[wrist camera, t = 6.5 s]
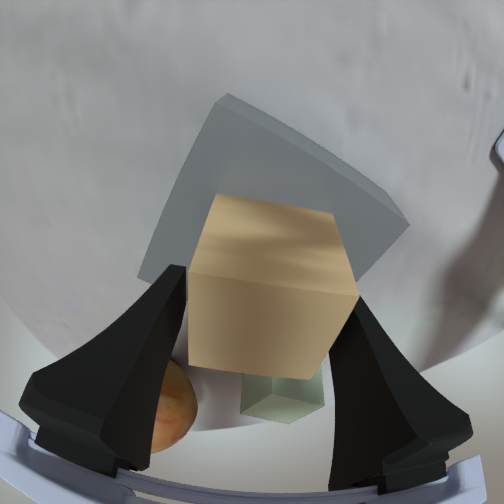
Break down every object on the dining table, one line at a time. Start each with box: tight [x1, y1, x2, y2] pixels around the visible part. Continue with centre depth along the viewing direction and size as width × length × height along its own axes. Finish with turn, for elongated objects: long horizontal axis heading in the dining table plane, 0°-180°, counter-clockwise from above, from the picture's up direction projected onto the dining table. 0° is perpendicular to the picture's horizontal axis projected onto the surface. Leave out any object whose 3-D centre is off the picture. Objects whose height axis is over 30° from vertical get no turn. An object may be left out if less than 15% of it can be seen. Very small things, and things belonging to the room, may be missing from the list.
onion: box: [151, 359, 198, 453], centre depth 23 cm, size 10×10×10 cm
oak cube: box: [188, 194, 360, 380], centre depth 12 cm, size 5×5×5 cm
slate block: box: [137, 94, 410, 300], centre depth 15 cm, size 10×10×4 cm
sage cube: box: [240, 364, 325, 424], centre depth 23 cm, size 5×5×5 cm
